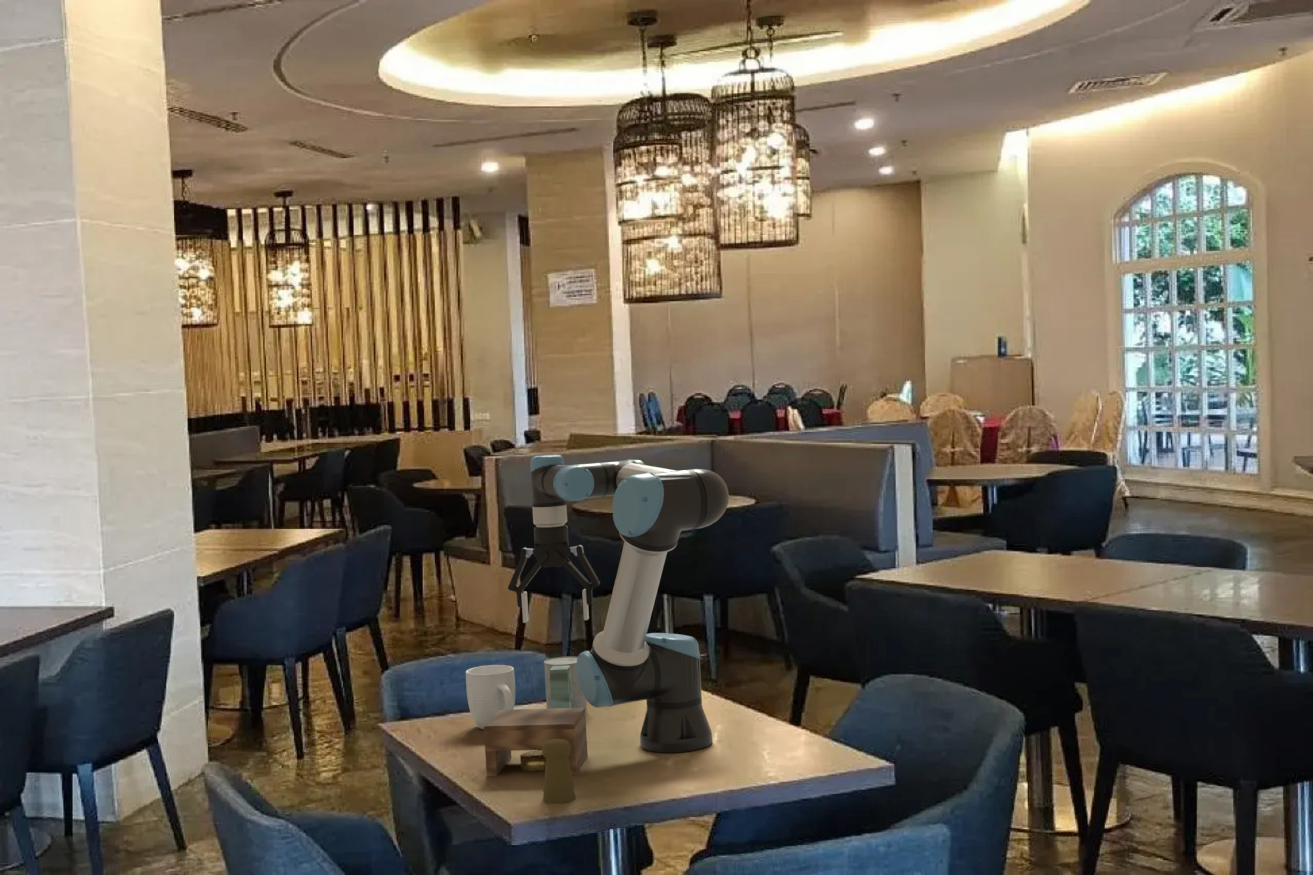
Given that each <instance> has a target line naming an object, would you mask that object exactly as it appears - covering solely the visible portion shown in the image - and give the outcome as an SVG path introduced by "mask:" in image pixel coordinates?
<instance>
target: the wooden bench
mask: <svg viewBox="0 0 1313 875" xmlns="http://www.w3.org/2000/svg"><path fill="white" fill-rule="evenodd" d="M483 733H484V735H483V736H484V752H485V753H484V754H485V768H486V769H485V770H486V777H497V776H498V775H499V774H500V773H501V771H502V770H503V769H504V768H505V766H506V765H507V764H508V763H509V761H510V760H511V759H512V752H514V751H518V752H519V751H538V750H543V745H544V743H545V742H546V741H548V740H552V739H564V740H567V741H568V742H569V744H570V747H571V752H570V755H569V756H568V759H569V765H570V770H571V775H577V774H578V773H579V771H580V769H581V768H582V766H583V764H584V763H585V761H586V759H587V757H589V756H588V740H587V739H588V738H587V736H588V735H587V720H586V713H585V708H552V709H547V708H524V709H522V708H520V709H519V708H518V709H515V708H514V710H499V711H498V712H497V713H496V714H495V715H494V716H493V717H492V718H491V719H490V720H489V721H488V722H487V723H486V725H485V726H484V730H483Z"/></svg>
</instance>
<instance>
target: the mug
mask: <svg viewBox="0 0 1313 875" xmlns="http://www.w3.org/2000/svg"><path fill="white" fill-rule="evenodd" d="M515 678H516V677H515V669H514V667H513V666H511V665H505V664H490V665H489V664H488V665H479V666H475V667H472V668H468V669H467V670H466V671H465V683H466V684H465V685H466V686H465V688H466V696H467V697H466V698H467V703H468V708H469V713H470V715H471V718H472V720H473V722H474V723H475V724H474V725H476V727H477V728H478V729H480V730H483V731H484V726H485V725H486V723H487V722H488V721H489V720H490V719H491V718H492V717H493V716H494V715H495V714H496V713H497V712H498V711H499V710H515V703H516V683H515V681H516V680H515Z"/></svg>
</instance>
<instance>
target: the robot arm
mask: <svg viewBox="0 0 1313 875" xmlns="http://www.w3.org/2000/svg"><path fill="white" fill-rule="evenodd" d="M529 476H530V487H531V500H532V501H531V502H532V522H533V524H534V525H535V527H533V537H534V542H533V543H534V548H527V547H526V546H525V547H523V548H521V549H520V556H519V558H520V559H519V561H518V563H517V565H516V568H515V570H514V573H513V574H512V577H511V579H510V581H509V584H508V587H507V589H508V590H509V591H512V592H515V593H516V606H517V607H518V608H522V609H521V611H522V623H523V624H525V623H528V622H529V620H530V619H529V603H528V601H529V600H528V592H527V591H524V590H525V588H526V587H527V586H528V584H530V582H531V580H532V579H533V578H534V577H535V575H536V574H537V573H538V572H539V570H540V569H541V568H542V567H543V568H552V567H553V568H560V567H562V566H563V567H564V568H565V569H566V570H568V571H569V573H570V574H571V575H572V576H573V578H574V579H576V580H577V581H578V582H579V583H580V585H582V587H583V588H584V589H582V591H581V592H582V595H581V596H582V609H583V612H582V614H583V621H588V620H589V619H590V615H589V614H590V613H589V605H592V604H593V602H594V599H593V589H595V588H598V587H599V585H600V584H601V581H600V579H599V577H598V576H597V574H596V572H595V571H594V569H593V567H592V565H591V564H590V562H589V560H588V558H587V557H586V554H585V550H584V545H583V544H579V545H576V546H570V543H569V542H570V541H569V527H568V525H567V524H566V523H567V522H568V511H567V502H578V501H583V500H585V499H593V498H596V499H597V498H604V497H613V500H612V510H613V513H612V519H613V522H614V526H615V528H616V529H617V531H618V532H619V536H620V538H621V539H622V541H624V542H623V546H622V552H621V554H620V560H619V564H618V568H617V572H616V577H615V580H614V583H613V584H614V585H613V589H612V594H611V598H610V602H609V606H608V610H607V615H606V619H605V624H604V627H603V630H602V631H600V632H598V633H597V634H596V635H595V636H594V637H593V642H592V645H591V650H584V651H582V652H581V653H579V654H578V656H577V657H578V658H577V663H576V670H577V677H578V682H579V685H580V688H581V691H582V693H583V695H584V697H585V699H586V702H587V703H588V704H589V705H591V706H592V707H594V708H606V707H607V708H608V707H609V708H611V707H614V706H620V705H624V704H630V703H636V702H640V701H646V711H645V715H644V719H643V722H642V726H641V731H640V734H639V741H640V742H639V743H640V744H639V746H640V747H641V748H642V749H644V750H647V751H650V752H655V753H683V752H684V753H685V752H691V751H697V750H701V749H705V748H706V747H709V746H711V745H712V743H713V732H712V729H711V726H710V723H709V721H708V719H707V718H708V717H707V716H706V713H705V710H704V707H703V698H702V681H701V680H702V678H701V654H700V653H701V652H700V649H699V648H700V646H699V642H698V641H697V639H696V638H695V637H693V636H691V635H685V634H679V633H670V632H669V633H667V632H666V633H665V632H651V633H648V630H649V625H650V621H651V617H652V612H653V609H654V606H655V601H656V598H657V594H658V589H659V586H660V581H661V578H662V574H663V571H664V566H665V562H666V559H667V554H668V552H670V551H672V550H674V549H675V548H676V547H677V545H678V541H679V539H680V538H679V537H680V535H681V532H682V531H691V530H695V529H703V528H706V527H709V526H711V525H712V524H714V523H716V522H717V521H718V520H720V518H722V516H723V515H724V514H725V512H726V510H727V508H728V505H729V500H730V498H729V496H730V494H729V489H728V486H727V483H726V482H725V480H724V479H723V478H722V477H721V476H720V475H719V474H718V473H716V472H714V471H712V470H708V469H703V468H690V469H682V470H675V469H668V468H664V467H658V466H653V465H652V466H651V465H646V464H645V463H644V461H642V460H639V459H624V460H619V461H618V460H617V461H616V460H615V461H607V462H606V461H605V462H593V463H592V462H591V463H580V464H579V463H578V464H565V460H564V457H563V456H562V455H560V454H545V455H536V456H533V457H531V459H530V470H529ZM571 553H573V555H574V556H575V557H577V558H578V561H579V563H580V565H581V566H582V568H583V569H584V571H585V573H586V575H587V577H588V578H589V579H588V578H587V577H585V576H584V574H583V573H582V572H581V571H580V570H579V569H578V568H577V566H575V565H574V564H573V562H572V560H570V559H569V557H570V554H571ZM532 555H533V556H534V558H536V560H537V561H536V562H535V564H534V565H533V566H532V568H531V569H530V570H529V571H528V573H527V574H526V576H525V577H524V578H523V580H522V581H521V582H520V584H519V585H517V584H518V582H519V579H520V577H521V574H522V572H523V570H524V567H525V565H526V563H527V561H528V559H529V558H531V556H532ZM589 580H590V581H589Z"/></svg>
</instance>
